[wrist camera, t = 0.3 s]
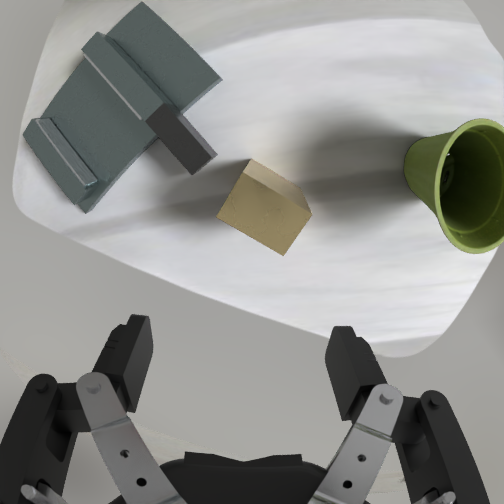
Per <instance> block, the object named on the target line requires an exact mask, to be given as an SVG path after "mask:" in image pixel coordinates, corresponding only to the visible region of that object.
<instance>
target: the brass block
mask: <svg viewBox="0 0 504 504" xmlns="http://www.w3.org/2000/svg"><path fill="white" fill-rule="evenodd" d="M311 216H312V213H311V210H310V208H309V206H308V204H307V202H306V199H305V197H304V195H303V193H302V191H301V189H300V188H299V187H298V186H296V185H294V184H293V183H291V182H290V181H288V180H286V179H285V178H283V177H282V176H280V175H278V174H277V173H275V172H273V171H272V170H270V169H268V168H267V167H265V166H263V165H262V164H260V163H258V162H257V161H255V160H253V159H251V160H250V162H249V163H248V165H247V166H246V168H245V169H244V171H243V172H242V174H241V176H240V177H239V179H238V181H237V182H236V184H235V186H234V187H233V189H232V191H231V192H230V194H229V196H228V197H227V199H226V201H225V203H224V204H223V206H222V208H221V210H220V211H219V213H218V215H217V216H216V217H217V218H218V219H220V220H222V221H224V222H225V223H227V224H229V225H230V226H232V227H234V228H236V229H237V230H239V231H241V232H243V233H244V234H246V235H248V236H250V237H251V238H253V239H255V240H257V241H258V242H260V243H262V244H263V245H265V246H267V247H269V248H270V249H272V250H274V251H275V252H277V253H279V254H281V255H282V256H284V254H285V253H286V252H287V250H288V249H289V247H290V246H291V244H292V243H293V242H294V240H295V239H296V237H297V236H298V234H299V233H300V232H301V230H302V229H303V227H304V226H305V224H306V223H307V221H308V220H309V219H310V217H311Z"/></svg>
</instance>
